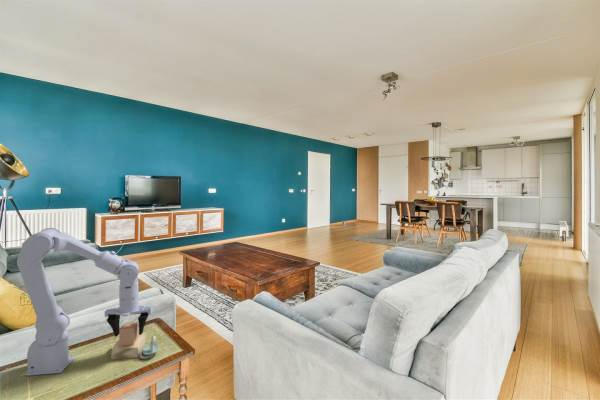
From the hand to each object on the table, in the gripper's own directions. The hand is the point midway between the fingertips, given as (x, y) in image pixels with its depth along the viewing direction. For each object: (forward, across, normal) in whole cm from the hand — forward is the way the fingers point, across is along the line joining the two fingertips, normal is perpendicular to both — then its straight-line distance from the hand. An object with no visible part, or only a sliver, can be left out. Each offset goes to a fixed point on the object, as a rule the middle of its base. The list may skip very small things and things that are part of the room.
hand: (129, 334), depth 100 cm
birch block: (+6, 0, 0) cm, 6 cm away
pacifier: (+7, +7, -2) cm, 10 cm away
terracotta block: (+3, 0, 0) cm, 3 cm away
